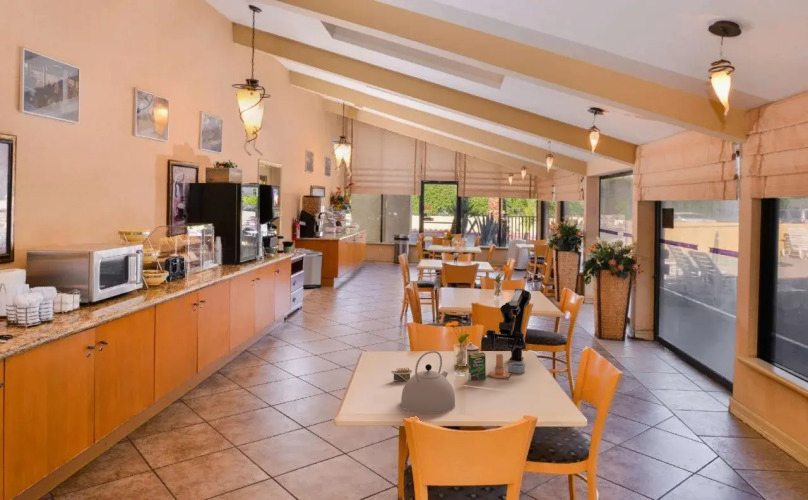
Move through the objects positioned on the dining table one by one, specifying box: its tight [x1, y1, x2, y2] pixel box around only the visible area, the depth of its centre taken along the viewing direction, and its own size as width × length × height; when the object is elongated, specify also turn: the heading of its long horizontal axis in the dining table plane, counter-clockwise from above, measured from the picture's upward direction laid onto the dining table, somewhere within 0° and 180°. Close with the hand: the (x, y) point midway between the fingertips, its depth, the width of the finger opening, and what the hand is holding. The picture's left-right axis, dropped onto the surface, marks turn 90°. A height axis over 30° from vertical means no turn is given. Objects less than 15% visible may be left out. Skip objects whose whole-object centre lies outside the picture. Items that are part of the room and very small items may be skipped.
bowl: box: [508, 362, 526, 374], centre depth 288 cm, size 8×8×4 cm
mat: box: [486, 371, 513, 381], centre depth 281 cm, size 11×11×1 cm
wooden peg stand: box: [488, 353, 511, 380], centre depth 280 cm, size 10×10×10 cm
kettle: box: [400, 350, 456, 415], centre depth 241 cm, size 25×23×22 cm
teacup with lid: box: [466, 341, 480, 366], centre depth 303 cm, size 12×9×12 cm
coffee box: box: [468, 352, 487, 381], centre depth 274 cm, size 8×3×13 cm, turn 107°
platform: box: [391, 367, 413, 382], centre depth 272 cm, size 12×18×7 cm, turn 103°
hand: (502, 350), depth 284 cm, fingers open, 9 cm apart
